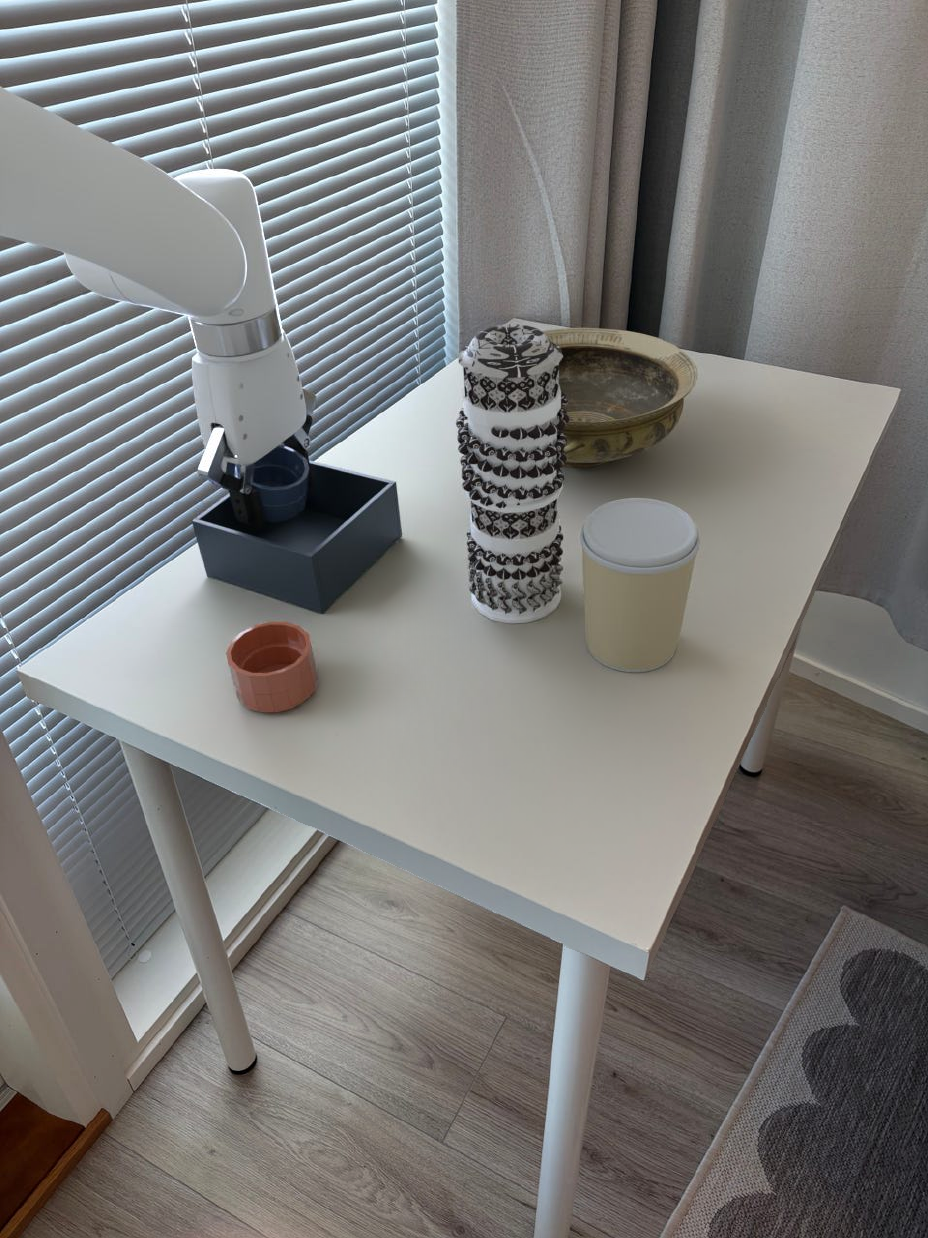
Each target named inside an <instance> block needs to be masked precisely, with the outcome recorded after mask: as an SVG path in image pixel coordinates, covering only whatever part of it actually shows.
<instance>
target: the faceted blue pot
mask: <svg viewBox="0 0 928 1238" xmlns="http://www.w3.org/2000/svg"><path fill="white" fill-rule="evenodd" d="M283 445H284V444H280V445H278V446H277V447H276V448H274V449H273V450H271V451H270V452H269V453H267V454H266V455H265V456H263V457H262V458H261V459H259V460H258V461H256V462H255V466H254V475H253V483H252V488H253V489H256V490H257V491H258V493H259V497H260V501H261V505H262V510H263V514H264V518H265V521H266V522H280V521H285V520H288V519H290V518H293V517H295V516H297V515H298V514H299V513H300V512H302V511H303V510H304V509H305V506H306V502H307V495H308V481H309V466H308V463H307V460H306V459H305V458H304V457H303V456H302V455H301V454H300V453H299V452H298V451H296V450H294V449H291V448H289V447H287V446H283ZM240 474H241V466H240V465H237V464H236V465H235V474H234V476H235V477H237V478H239V479H240Z"/></svg>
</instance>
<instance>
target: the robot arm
mask: <svg viewBox="0 0 928 1238" xmlns="http://www.w3.org/2000/svg"><path fill="white" fill-rule="evenodd" d="M0 236H1V237H3V238H4V237H5V238H9V239H12V240H16V241H20V242H25V243H29V244H32V245H36V246H40V247H44V248H47V249H51V250H55V251H58V252H61V253H63V255H64V259H65V261H66V264H67V268H68V269H69V270H70V272H71V274H72V275H73V276H74V278H75V279H76V280H77V281H78V282H79V283H80V285H82V286H83V287H85V288H86V289H88V290H89V291H90V292H92V293H94V294H96V295H98V296H101V297H103V298H107V299H109V300H113V301H118V302H123V303H127V304H132V305H135V306H139V307H147V308H152V309H156V310H161V311H165V312H169V313H173V314H178V315H182V316H186V317H188V321H189V325H190V329H191V333H192V336H193V340H194V344H195V349H196V353H195V354H194V355H193V356H192V357H191V359H192V360H191V374H192V375H191V376H192V377H191V378H192V388H193V397H194V403H195V404H194V405H195V411H196V415H197V416H196V417H197V421H198V425H199V430H200V435H201V439H202V444H203V447H204V452H203V455H202V457H201V460H200V463H199V465H198V467H197V475H199V476H200V477H201V478H203V479H205V480H206V481H208V482H210V483H211V484H213V485H215V486H217V487H220V488H222V489H223V490H227V491H228V494H230V498H231V502H232V506H233V510H234V514H235V518H236V520H237V521H239V522H242V523H245V524H248V525H252V526H255V527H259V528H261V527H262V526H263V525H265V518H264V514H263V510H262V505H261V501H260V497H259V493H258V491H257V490H256V489H253V488H252V483H253V475H254V466H255V462H256V461H258V460H259V459H261V458H262V457H263V456H265V455H266V454H267V453H269V452H270V451H271V450H273V449H274V448H276V447H277V446H278V445H283V446H287V447H289V448H291V449H294V450H296V451H298V452H299V453H300V454H301V455H302V456H303V457H304V458H305V459H306V460H307V463H308V466H309V481H308V488H309V487H311V486H312V485H313V478H312V473H311V467H310V462H309V460H310V458H309V451H308V449H309V448H310V446H311V438H310V437H309V434H310V430H311V428H312V425H313V417H312V416H313V414H314V410H315V407H316V402H317V395H316V394H315V393H313V392H311V391H308V390H306V389H304V388H303V385H302V381H301V377H300V376H301V375H300V373H299V369H298V365H297V362H296V359H295V355H294V352H293V350H292V347H291V344H290V341H289V339H288V337H287V334H286V332H285V330H284V329H283V327H282V323H281V317H280V312H279V307H280V301H279V299H278V297H277V295H276V291H275V287H274V286H275V285H274V282H273V275H272V271H271V265H270V260H269V255H268V249H267V245H266V244H267V243H266V240H265V239H266V238H265V234H264V229H263V224H262V218H261V212H260V208H259V203H258V197H257V194H256V190H255V187H254V185H253V184H252V182H251V180H250V179H249V178H248V177H247V176H246V175H244V174H243V173H241V172H239V171H236V170H231V169H225V168H212V169H210V168H209V169H202V170H201V169H200V170H195V171H190V172H186V173H183V174H180V175H178V176H175V177H173V176H171V175H170V174H168V173H167V172H165V171H164V170H163V169H161V168H159V167H158V166H156V165H154V164H152V163H150V162H149V161H147V160H146V159H143V158H141V157H140V156H138V155H136V154H134V153H132V152H130V151H128V150H126V149H124V148H123V147H121V146H118V145H117V144H114V143H112V142H110V141H109V140H106V139H104V138H102V137H100V136H98V135H95V134H93V132H90V131H88V130H86V129H83V128H82V127H80V126H78V125H76V124H74V123H72V122H70V121H69V120H67V119H65V118H63V117H61V116H60V115H58V114H56V113H54V112H52V111H49V110H48V109H46V108H45V107H44V108H43V107H42V106H40V105H37V104H36V103H33V102H32V101H29V100H27V99H25V98H22V97H20V96H18V95H17V94H14V93H13V92H11V91H9V90H7V89H6V88H4V87H3V86H1V85H0ZM236 464H237V465H240V466H241V474H240V479H239V478H237V477H235V465H236Z"/></svg>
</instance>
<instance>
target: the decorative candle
mask: <svg viewBox="0 0 928 1238" xmlns="http://www.w3.org/2000/svg"><path fill="white" fill-rule="evenodd" d="M542 331H543V330H541V329H539V328H537V327H534V326H531V325H528V324H518V323H508V324H499V325H494V326H490V327H487V328H485V329H483V330H481V331H479V332H478V333H476V335H475V336H474V337H473V338H472V339H471V341H470V343H469V344H467V345H465V346H464V348H463V349H462V350H460V352H459V353H458V364H459V365H460V366H461V367H462V369H463V371H462V372H463V386H464V387H463V389H462V403H463V404H462V405H463V406H462V408H460V409H459V412H458V416H459V417H458V418H457V419H456V421H455V425H456V427H457V429H458V430H457V436H456V437H457V438H456V439H457V442H458V444H459V445H458V448H457V451H458V452H459V453H460V454H461V455H462V456H461V457H460V461H459V462H460V465H461V466H462V468H461V479H462V480H463V483H462V489H463V490H464V494H465V496H466V497H467V498H468V499H469V500H470V511H469V528H470V529H468V530H467V531H466V537H467V541H466V546H467V552H468V553H469V554H468V555H467V560H468V562H467V567H468V581H469V587H468V588H469V591H470V597H471V604H472V606H473V607H474V608H475V610H476V611H477V612H478V614H481V615H482V616H484V617H486V618H488V619H490V620H492V621H494V622H499V623H505V624H527V623H528V624H529V623H531V622H534V621H538V620H540V619H544V618H546V617H547V616H548V615H550V613H552V612H553V611H555V610H556V609H557V608H558V606H559V604H560V601H561V600H562V592H561V585H563V583H564V582H563V579H561V578H560V577H561V574H562V572H563V570H564V567H563V565H561V564H560V562H561V561H562V557H561V556H563V554H564V550H563V548H562V547H561V545H562V541H563V540H564V535H563V533H562V526H561V525H560V514H559V508H558V499H559V496H560V495H561V493H562V491H563V489H564V482H565V475H564V474H563V470H562V468H563V467H564V465H563V463H564V462H566V460H567V457H566V455H565V454H564V453H565V451H564V448H565V444H566V443H567V438H566V436H565V435H564V432H563V431H562V430H563V429H564V428H565V427H566V423H568V422H569V416H568V415H567V411H566V410H565V409H564V408H562V407H563V406H565V405H567V404H568V400H566V399H564V398H565V397H566V395H565V394H563V392H561V390H560V386H559V362H560V360H561V359H562V358H563V354H562V350H561V348H560V347H559V346H557V345H556V344H554V343H553V342H552V341H550V339H549V338H548V336H547V335H546V334H545V333H543V332H542ZM561 405H562V407H561ZM557 416H558V421H557ZM465 421H467V422H465Z"/></svg>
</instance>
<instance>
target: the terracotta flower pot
mask: <svg viewBox="0 0 928 1238" xmlns="http://www.w3.org/2000/svg"><path fill="white" fill-rule="evenodd" d="M310 637H311V636H310V634H309V633H308V631H307V630H305V629H304V628H303V627H302V626H301V625H299V624H295V623H292V622H289V621H268V622H263V623H259V624H255V625H252V626H250V627H249V628H247V629H245V630H242V631H240V633H238V634H237V635H236V636H235V637H234V638H233V639H232V640H231V641H230V643H229V645H228V647H227V649H226V651H225V655H226V661H227V666H228V669H229V672H230V676H231V679H232V684H233V687H234V690H235V694H236V697H237V700H238V701H239V702H240V703H241V704H242V705H243V706H244V707H246V708H248V709H250V710H253V711H256V712H259V713H260V712H261V713H269V714H271V713H281V712H285V711H289V710H291V709H294V708H296V707H297V706H299V705H301V704H303V703H304V702H306V701H307V700H308V699H309V697H311V695H313V693H314V692H315V691H316V689H317V685H318V683H319V674H318V669H317V665H316V660H315V654H314V650H313V649H314V648H313V645H312V641H311V638H310Z"/></svg>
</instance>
